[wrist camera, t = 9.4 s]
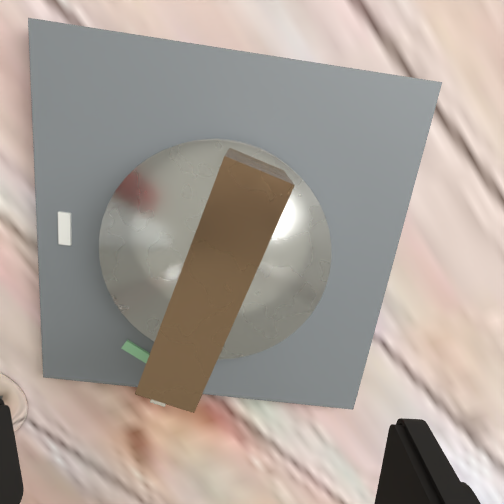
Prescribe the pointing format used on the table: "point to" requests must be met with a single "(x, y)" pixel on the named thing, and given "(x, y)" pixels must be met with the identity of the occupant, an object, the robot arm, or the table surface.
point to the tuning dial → (212, 259)
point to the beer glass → (13, 400)
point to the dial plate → (223, 127)
